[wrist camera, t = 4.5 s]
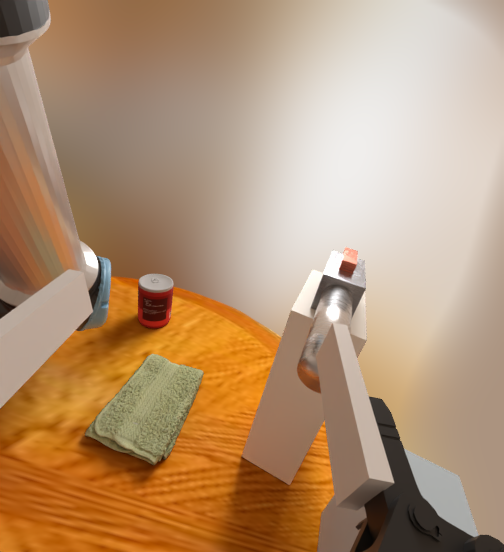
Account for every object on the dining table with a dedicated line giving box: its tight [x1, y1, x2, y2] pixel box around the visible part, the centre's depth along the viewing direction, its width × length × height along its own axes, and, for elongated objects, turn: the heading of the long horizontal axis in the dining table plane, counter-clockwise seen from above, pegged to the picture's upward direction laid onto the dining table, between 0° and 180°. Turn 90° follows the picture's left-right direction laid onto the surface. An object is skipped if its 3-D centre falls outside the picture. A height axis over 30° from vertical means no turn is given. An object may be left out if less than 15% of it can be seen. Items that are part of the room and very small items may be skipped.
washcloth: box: [85, 354, 203, 465], centre depth 43 cm, size 13×18×3 cm
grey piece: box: [297, 248, 366, 393], centre depth 26 cm, size 4×22×6 cm, turn 157°
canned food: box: [138, 274, 173, 328], centre depth 61 cm, size 8×8×11 cm
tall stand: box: [242, 270, 367, 485], centre depth 38 cm, size 8×14×28 cm, turn 158°
